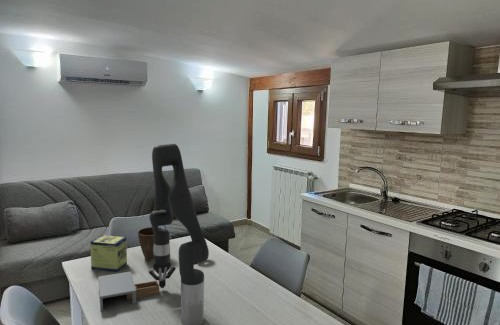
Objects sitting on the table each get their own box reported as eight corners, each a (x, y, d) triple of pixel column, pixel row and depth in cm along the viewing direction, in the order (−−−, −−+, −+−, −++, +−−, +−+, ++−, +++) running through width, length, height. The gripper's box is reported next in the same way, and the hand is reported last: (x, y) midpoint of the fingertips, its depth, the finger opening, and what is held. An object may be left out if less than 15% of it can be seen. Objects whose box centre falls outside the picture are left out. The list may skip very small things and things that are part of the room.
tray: (159, 294, 163) (159, 285, 162) (127, 300, 157) (126, 291, 156) (157, 289, 168) (157, 280, 167) (126, 294, 162) (125, 285, 161)
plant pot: (138, 253, 209) (137, 227, 207) (163, 251, 214) (163, 226, 211) (138, 264, 195) (137, 236, 193) (165, 261, 199) (165, 234, 197)
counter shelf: (136, 304, 154) (135, 290, 153) (100, 311, 148) (99, 296, 147) (131, 284, 172) (130, 271, 171) (99, 289, 166) (98, 276, 165)
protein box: (117, 272, 185) (117, 243, 183) (90, 269, 187) (89, 241, 185) (127, 263, 195) (127, 237, 193) (101, 261, 197) (100, 234, 195)
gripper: (148, 257, 157) (149, 293, 160) (177, 253, 163) (178, 288, 165) (146, 251, 164) (146, 286, 166) (174, 247, 169) (174, 281, 172)
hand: (162, 287), depth 166 cm, fingers closed
